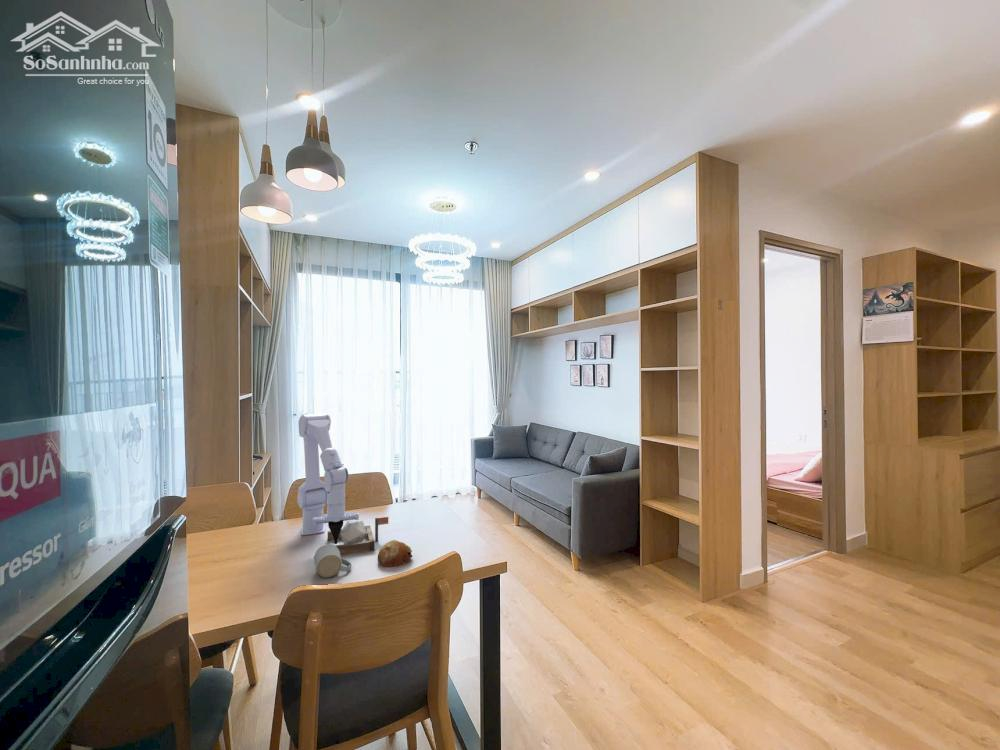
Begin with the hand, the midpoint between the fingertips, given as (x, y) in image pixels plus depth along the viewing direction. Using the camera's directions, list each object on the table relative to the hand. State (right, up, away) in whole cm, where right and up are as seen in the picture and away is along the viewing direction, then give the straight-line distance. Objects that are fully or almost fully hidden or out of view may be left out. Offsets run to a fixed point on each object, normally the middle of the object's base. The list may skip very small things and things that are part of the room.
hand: (336, 542), depth 142 cm
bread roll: (+23, -2, -10) cm, 25 cm away
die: (+5, -2, +2) cm, 6 cm away
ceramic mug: (+6, -2, -18) cm, 19 cm away
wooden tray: (+7, -1, +3) cm, 8 cm away
